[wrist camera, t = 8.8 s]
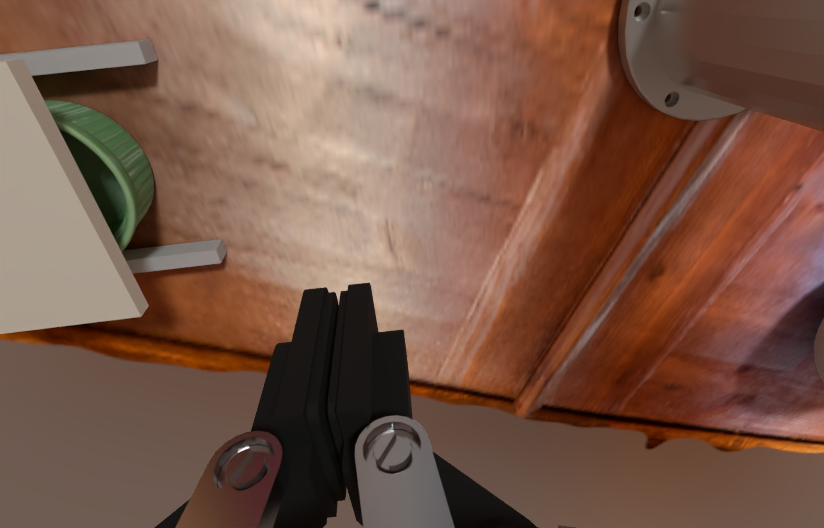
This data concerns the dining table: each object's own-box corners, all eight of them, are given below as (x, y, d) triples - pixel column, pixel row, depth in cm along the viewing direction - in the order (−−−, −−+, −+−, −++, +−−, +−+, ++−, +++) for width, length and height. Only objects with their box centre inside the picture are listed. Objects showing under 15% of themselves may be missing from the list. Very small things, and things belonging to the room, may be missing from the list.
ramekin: (165, 247, 29) (136, 284, 26) (10, 218, 27) (-45, 253, 24) (166, 114, 25) (131, 135, 21) (-18, 69, 23) (-92, 83, 19)
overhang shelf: (150, 39, 23) (82, 53, 17) (227, 251, 30) (195, 310, 24) (-95, 64, 23) (-243, 87, 17) (40, 273, 29) (-35, 338, 24)
